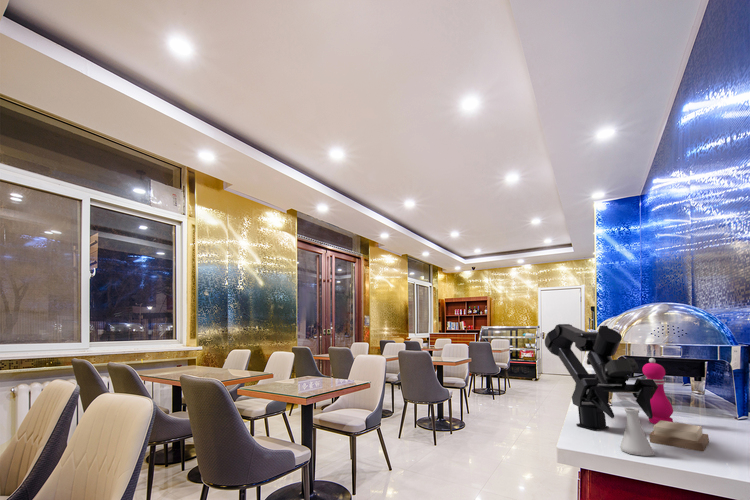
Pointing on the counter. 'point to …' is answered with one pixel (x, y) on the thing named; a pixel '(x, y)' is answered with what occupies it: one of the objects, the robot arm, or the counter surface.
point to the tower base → (680, 442)
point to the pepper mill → (658, 393)
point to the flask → (635, 435)
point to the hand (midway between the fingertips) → (632, 417)
